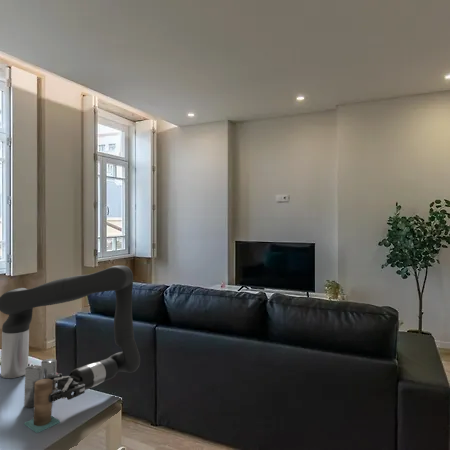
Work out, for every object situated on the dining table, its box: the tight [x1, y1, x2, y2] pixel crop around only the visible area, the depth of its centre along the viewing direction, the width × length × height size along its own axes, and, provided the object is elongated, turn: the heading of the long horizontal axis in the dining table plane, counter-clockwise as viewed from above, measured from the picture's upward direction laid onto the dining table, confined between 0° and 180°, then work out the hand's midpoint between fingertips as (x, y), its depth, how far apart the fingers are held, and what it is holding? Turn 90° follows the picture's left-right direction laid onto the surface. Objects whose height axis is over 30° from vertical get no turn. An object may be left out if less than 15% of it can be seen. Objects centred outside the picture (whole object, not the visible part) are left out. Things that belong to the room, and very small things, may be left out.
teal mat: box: [24, 415, 61, 434], centre depth 111 cm, size 7×7×1 cm
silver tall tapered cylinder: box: [23, 364, 42, 409], centre depth 121 cm, size 5×5×12 cm
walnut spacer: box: [33, 379, 53, 426], centre depth 110 cm, size 5×5×12 cm
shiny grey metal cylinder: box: [40, 358, 58, 393], centre depth 127 cm, size 5×5×12 cm
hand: (41, 394), depth 110 cm, fingers open, 8 cm apart
